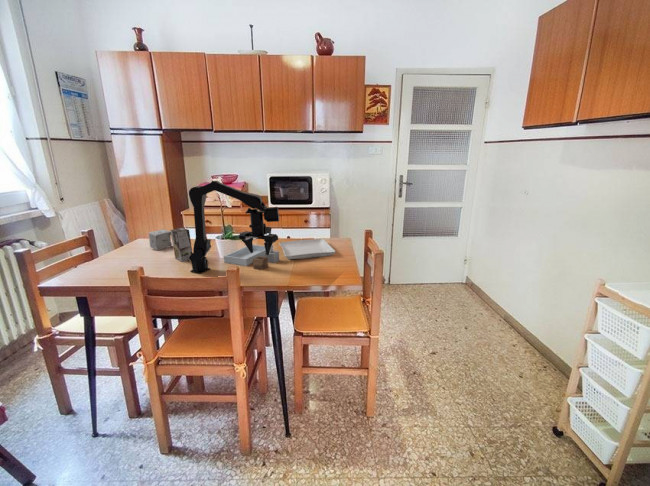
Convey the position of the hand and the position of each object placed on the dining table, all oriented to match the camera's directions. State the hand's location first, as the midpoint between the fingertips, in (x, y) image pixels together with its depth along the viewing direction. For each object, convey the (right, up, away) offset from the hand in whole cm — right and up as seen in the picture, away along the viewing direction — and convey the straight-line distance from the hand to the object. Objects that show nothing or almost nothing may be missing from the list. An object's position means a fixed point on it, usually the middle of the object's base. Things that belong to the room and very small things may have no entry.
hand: (259, 254), depth 143 cm
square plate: (+21, 0, +25) cm, 32 cm away
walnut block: (0, -7, +2) cm, 7 cm away
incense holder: (-68, +2, +38) cm, 77 cm away
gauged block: (+4, -4, +11) cm, 12 cm away
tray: (-9, -3, +17) cm, 19 cm away
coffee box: (-44, -3, +17) cm, 48 cm away
